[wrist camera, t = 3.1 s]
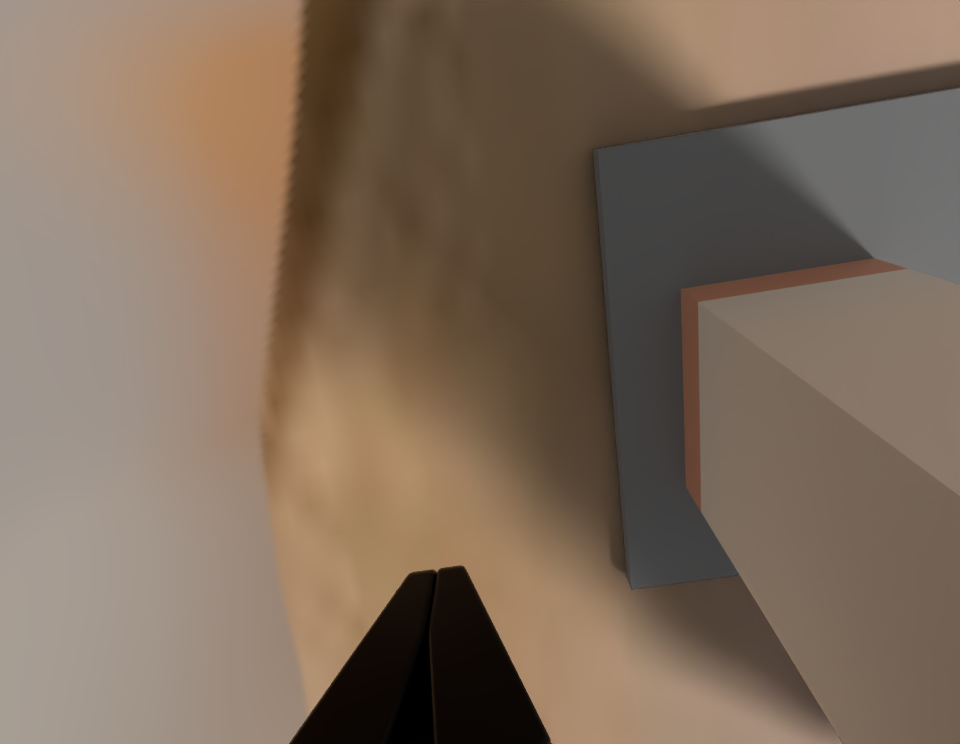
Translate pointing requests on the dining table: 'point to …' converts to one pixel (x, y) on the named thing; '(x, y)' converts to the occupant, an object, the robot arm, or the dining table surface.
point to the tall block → (838, 479)
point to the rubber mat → (748, 266)
